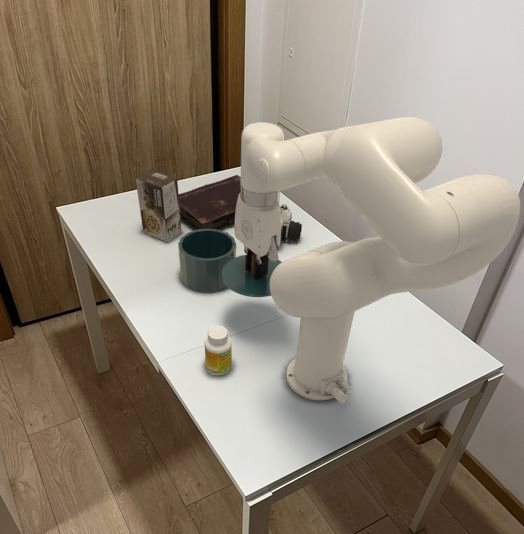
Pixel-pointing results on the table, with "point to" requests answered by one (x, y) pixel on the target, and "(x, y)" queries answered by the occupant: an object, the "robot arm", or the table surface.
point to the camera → (289, 226)
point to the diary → (211, 204)
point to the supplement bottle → (218, 351)
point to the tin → (205, 259)
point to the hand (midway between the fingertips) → (256, 271)
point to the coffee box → (159, 205)
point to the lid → (247, 277)
